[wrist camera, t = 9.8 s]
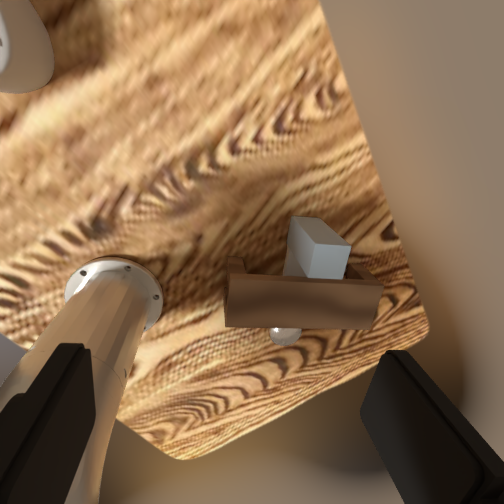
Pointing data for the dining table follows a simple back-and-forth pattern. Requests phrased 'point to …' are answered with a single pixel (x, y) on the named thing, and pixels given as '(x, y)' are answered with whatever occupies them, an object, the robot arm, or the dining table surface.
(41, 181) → the dining table surface
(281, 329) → the token
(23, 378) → the robot arm
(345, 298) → the stand
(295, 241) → the grey block
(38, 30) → the lumpy-topped squat cylinder
